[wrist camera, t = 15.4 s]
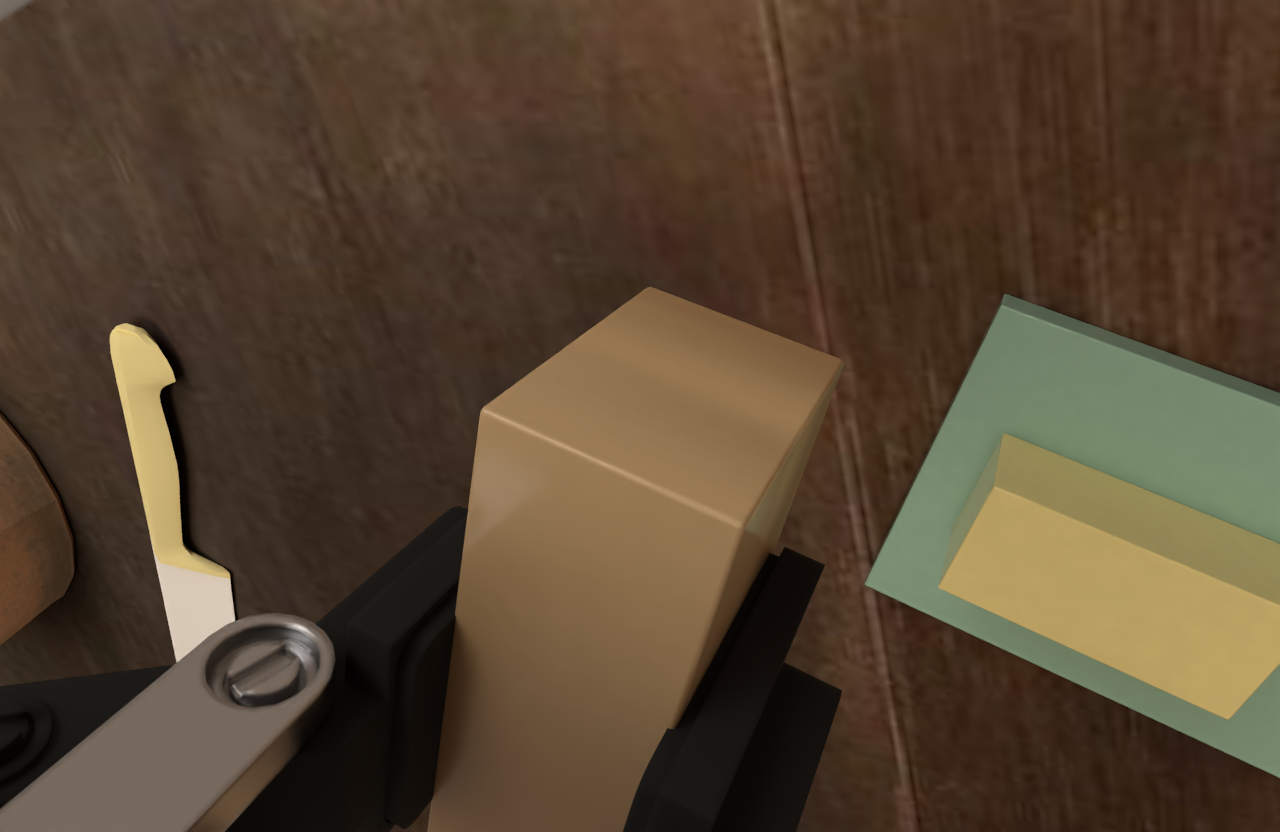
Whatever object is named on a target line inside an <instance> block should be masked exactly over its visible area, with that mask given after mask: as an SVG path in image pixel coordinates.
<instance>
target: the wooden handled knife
mask: <svg viewBox="0 0 1280 832" xmlns="http://www.w3.org/2000/svg"><path fill="white" fill-rule="evenodd" d="M843 366H844V363H843V361H842V360H841V359H839V358H836V357H834V356H831V355H829V354H826V353H823V352H821V351H818V350H815V349H813V348H810V347H808V346H805V345H802V344H800V343H797V342H794V341H792V340H789V339H787V338H784V337H781V336H779V335H776V334H773V333H771V332H768V331H766V330H763V329H760V328H758V327H755V326H752V325H750V324H747V323H745V322H742V321H739V320H737V319H734V318H731V317H729V316H726V315H723V314H721V313H718V312H716V311H713V310H710V309H708V308H705V307H702V306H700V305H697V304H695V303H692V302H689V301H687V300H684V299H681V298H679V297H676V296H674V295H671V294H668V293H666V292H663V291H660V290H658V289H655V288H653V287H647V288H646V289H644V290H643V291H642V292H640V293H639V294H638V295H636V296H635V297H633V298H632V299H631V300H629V301H628V302H627V303H625V304H624V305H623V306H621V307H620V308H618V309H617V310H616V311H614V312H613V313H612V314H610V315H609V316H607V317H606V318H605V319H603V320H602V321H601V322H599V323H598V324H597V325H595V326H594V327H592V328H591V329H590V330H588V331H587V332H586V333H584V334H583V335H581V336H580V337H579V338H577V339H576V340H575V341H573V342H572V343H571V344H569V345H568V346H566V347H565V348H564V349H562V350H561V351H560V352H558V353H557V354H555V355H554V356H553V357H551V358H550V359H549V360H547V361H546V362H545V363H543V364H542V365H540V366H539V367H538V368H536V369H535V370H534V371H532V372H531V373H529V374H528V375H527V376H525V377H524V378H523V379H521V380H520V381H518V382H517V383H516V384H514V385H513V386H512V387H510V388H509V389H508V390H506V391H505V392H503V393H502V394H501V395H499V396H498V397H497V398H495V399H494V400H492V401H491V402H490V403H488V404H487V405H486V406H484V407H483V409H482V410H481V413H480V419H479V427H478V435H477V443H476V451H475V459H474V467H473V475H472V483H471V491H470V499H469V507H468V515H467V523H466V531H465V539H464V546H463V554H462V562H461V570H460V578H459V586H458V594H457V602H456V610H455V616H456V621H455V629H454V637H453V645H452V653H451V660H450V668H449V676H448V684H447V692H446V699H445V707H444V715H443V723H442V731H441V738H440V746H439V754H438V762H437V770H436V777H435V785H434V793H433V798H432V801H431V808H430V816H429V824H428V832H623V829H624V826H625V823H626V820H627V817H628V814H629V811H630V808H631V805H632V802H633V799H634V796H635V793H636V790H637V788H638V786H639V783H640V781H641V779H642V776H643V774H644V772H645V770H646V768H647V766H648V764H649V761H650V759H651V758H652V756H653V754H654V752H655V750H656V748H657V746H658V744H659V743H660V741H661V739H662V737H663V735H664V733H665V732H666V730H667V728H669V729H675V728H676V727H677V726H678V724H679V722H680V720H681V718H682V716H683V714H684V713H685V711H686V709H687V707H688V705H689V703H690V701H691V699H692V698H693V696H694V694H695V692H696V690H697V688H698V686H699V684H700V683H701V681H702V679H703V677H704V675H705V673H706V671H707V669H708V668H709V666H710V664H711V662H712V660H713V658H714V656H715V655H716V653H717V651H718V649H719V647H720V645H721V643H722V641H723V640H724V638H725V636H726V634H727V632H728V630H729V628H730V626H731V625H732V623H733V621H734V619H735V617H736V615H737V613H738V611H739V610H740V608H741V606H742V604H743V602H744V600H745V598H746V596H747V595H748V593H749V591H750V589H751V587H752V585H753V583H754V582H755V580H756V578H757V576H758V574H759V572H760V570H761V568H762V567H763V565H764V563H765V561H766V559H767V557H768V556H769V554H770V553H772V554H773V552H774V550H775V547H776V544H777V542H778V539H779V536H780V534H781V531H782V528H783V526H784V523H785V520H786V518H787V515H788V512H789V510H790V507H791V504H792V502H793V499H794V496H795V494H796V491H797V488H798V486H799V483H800V480H801V478H802V475H803V472H804V470H805V467H806V464H807V462H808V459H809V456H810V454H811V451H812V448H813V446H814V443H815V441H816V438H817V435H818V433H819V430H820V427H821V425H822V422H823V419H824V417H825V414H826V411H827V409H828V406H829V403H830V401H831V398H832V395H833V393H834V390H835V387H836V385H837V382H838V379H839V377H840V374H841V371H842V369H843Z"/></svg>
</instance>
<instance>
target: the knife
mask: <svg viewBox="0 0 1280 832" xmlns="http://www.w3.org/2000/svg"><path fill="white" fill-rule="evenodd" d="M110 349H111V357H112V361H113V366H114V371H115V375H116V380H117V384H118V389H119V394H120V398H121V403H122V407H123V412H124V417H125V421H126V426H127V430H128V435H129V439H130V444H131V449H132V453H133V458H134V462H135V467H136V472H137V476H138V481H139V485H140V490H141V495H142V499H143V504H144V508H145V513H146V518H147V522H148V527H149V531H150V537H151V542H152V547H153V552H154V557H155V562H156V566H157V571H158V576H159V580H160V585H161V590H162V594H163V599H164V604H165V609H166V614H167V618H168V623H169V628H170V633H171V638H172V642H173V647H174V652H175V657H176V661H177V662H178V661H180V660H181V659H182V658H183V657H184V656H186V655H187V654H188V653H189V652H190V651H192V650H193V649H194V648H195V647H196V646H198V645H199V644H200V643H201V642H202V641H204V640H205V639H206V638H207V637H209V636H210V635H211V634H213V633H214V632H216V631H217V630H219V629H221V628H222V627H224V626H225V625H227V624H229V623H231V622H234V621H235V614H234V605H233V597H232V589H231V581H230V580H231V579H230V573H229V572H228V571H227V570H226V569H225V568H224V567H222V566H220V565H218V564H216V563H214V562H212V561H210V560H208V559H206V558H204V557H202V556H200V555H198V554H196V553H194V552H193V551H191V550H189V549H188V548H187V547H186V546H185V545H184V543H183V541H182V529H181V514H180V487H179V476H178V467H177V462H176V458H175V454H174V450H173V446H172V441H171V437H170V433H169V430H168V427H167V423H166V420H165V417H164V413H163V409H162V406H161V402H160V392H161V389H162V388H164V387H165V386H167V385H169V384H171V383H174V382H176V381H175V377H174V374H173V371H172V369H171V367H170V365H169V363H168V361H167V359H166V358H165V356H164V355H163V353H162V352H161V350H160V348H159V347H158V345H157V343H156V341H155V340H154V339H153V338H152V337H151V336H150V335H149V334H148V333H147V332H146V331H145V330H144V329H143V328H140V327H137V326H133V325H130V324H127V323H125V324H121V325H118V326H116V327H115V328H114V329H113V330H112V332H111V335H110Z"/></svg>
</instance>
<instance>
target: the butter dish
mask: <svg viewBox="0 0 1280 832" xmlns="http://www.w3.org/2000/svg"><path fill="white" fill-rule="evenodd" d="M865 585H866V586H868V587H870V588H872V589H875V590H877V591H879V592H881V593H883V594H885V595H887V596H890V597H892V598H894V599H896V600H898V601H900V602H902V603H905V604H907V605H909V606H911V607H913V608H915V609H918V610H920V611H922V612H924V613H926V614H928V615H930V616H933V617H935V618H937V619H939V620H941V621H943V622H945V623H948V624H950V625H952V626H954V627H956V628H958V629H961V630H963V631H965V632H967V633H969V634H971V635H973V636H976V637H978V638H980V639H982V640H984V641H986V642H989V643H991V644H993V645H995V646H997V647H999V648H1001V649H1004V650H1006V651H1008V652H1010V653H1012V654H1014V655H1016V656H1019V657H1021V658H1023V659H1025V660H1027V661H1029V662H1032V663H1034V664H1036V665H1038V666H1040V667H1042V668H1044V669H1047V670H1049V671H1051V672H1053V673H1055V674H1057V675H1059V676H1062V677H1064V678H1066V679H1068V680H1070V681H1072V682H1075V683H1077V684H1079V685H1081V686H1083V687H1085V688H1087V689H1090V690H1092V691H1094V692H1096V693H1098V694H1100V695H1102V696H1105V697H1107V698H1109V699H1111V700H1113V701H1115V702H1118V703H1120V704H1122V705H1124V706H1126V707H1128V708H1130V709H1133V710H1135V711H1137V712H1139V713H1141V714H1143V715H1145V716H1148V717H1150V718H1152V719H1154V720H1156V721H1158V722H1161V723H1163V724H1165V725H1167V726H1169V727H1171V728H1173V729H1176V730H1178V731H1180V732H1182V733H1184V734H1186V735H1188V736H1191V737H1193V738H1195V739H1197V740H1199V741H1201V742H1204V743H1206V744H1208V745H1210V746H1212V747H1214V748H1216V749H1219V750H1221V751H1223V752H1225V753H1227V754H1229V755H1231V756H1234V757H1236V758H1238V759H1240V760H1242V761H1244V762H1247V763H1249V764H1251V765H1253V766H1255V767H1257V768H1259V769H1262V770H1264V771H1266V772H1268V773H1270V774H1272V775H1274V776H1277V777H1279V778H1280V393H1278V392H1275V391H1273V390H1270V389H1267V388H1264V387H1262V386H1259V385H1256V384H1253V383H1250V382H1248V381H1245V380H1242V379H1239V378H1237V377H1234V376H1231V375H1228V374H1226V373H1223V372H1220V371H1217V370H1215V369H1212V368H1209V367H1206V366H1204V365H1201V364H1198V363H1195V362H1192V361H1190V360H1187V359H1184V358H1181V357H1179V356H1176V355H1173V354H1170V353H1168V352H1165V351H1162V350H1159V349H1157V348H1154V347H1151V346H1148V345H1146V344H1143V343H1140V342H1137V341H1134V340H1132V339H1129V338H1126V337H1123V336H1121V335H1118V334H1115V333H1112V332H1110V331H1107V330H1104V329H1101V328H1099V327H1096V326H1093V325H1090V324H1088V323H1085V322H1082V321H1079V320H1077V319H1074V318H1071V317H1068V316H1065V315H1063V314H1060V313H1057V312H1054V311H1052V310H1049V309H1046V308H1043V307H1041V306H1038V305H1035V304H1032V303H1030V302H1027V301H1024V300H1021V299H1019V298H1016V297H1013V296H1010V295H1007V294H1004V295H1003V297H1002V299H1001V301H1000V303H999V305H998V307H997V309H996V311H995V313H994V315H993V317H992V319H991V321H990V324H989V326H988V328H987V330H986V332H985V334H984V336H983V338H982V340H981V342H980V344H979V346H978V348H977V350H976V352H975V354H974V356H973V358H972V360H971V362H970V365H969V367H968V369H967V371H966V373H965V375H964V377H963V379H962V381H961V383H960V385H959V387H958V389H957V391H956V393H955V395H954V397H953V399H952V401H951V403H950V405H949V408H948V410H947V412H946V414H945V416H944V418H943V420H942V422H941V424H940V426H939V428H938V430H937V432H936V434H935V436H934V438H933V440H932V442H931V444H930V446H929V449H928V451H927V453H926V455H925V457H924V459H923V461H922V463H921V465H920V467H919V469H918V471H917V473H916V475H915V477H914V479H913V481H912V483H911V485H910V487H909V489H908V492H907V494H906V496H905V498H904V500H903V502H902V504H901V506H900V508H899V510H898V512H897V514H896V516H895V518H894V520H893V522H892V524H891V526H890V528H889V530H888V533H887V535H886V537H885V539H884V541H883V543H882V545H881V547H880V549H879V551H878V553H877V555H876V557H875V559H874V561H873V563H872V565H871V567H870V570H869V573H868V576H867V579H866V581H865Z"/></svg>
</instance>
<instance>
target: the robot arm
mask: <svg viewBox="0 0 1280 832" xmlns="http://www.w3.org/2000/svg"><path fill="white" fill-rule="evenodd" d="M467 515H468V510H467V509H465V508H463V507H461V506H458V507H453V508H451V509H450V510H448V511H447V512H445V513H444V514H443V515H442V516H440V517H439V518H438V519H437V520H436V521H435V522H434V523H432V524H431V525H430V526H429V527H428V528H427V529H425V530H424V531H423V532H422V533H421V534H420V535H418V536H417V537H416V538H415V539H414V540H413V541H411V542H410V543H409V544H408V545H407V546H406V547H404V548H403V549H402V550H401V551H400V552H399V553H398V554H396V555H395V556H394V557H393V558H392V559H391V560H389V561H388V562H387V563H386V564H385V565H384V566H382V567H381V568H380V569H379V570H378V571H377V572H375V573H374V574H373V575H372V576H371V577H370V578H368V579H367V580H366V581H365V582H364V583H363V584H362V585H360V586H359V587H358V588H357V589H356V590H355V591H353V592H352V593H351V594H350V595H349V596H348V597H346V598H345V599H344V600H343V601H342V602H341V603H339V604H338V605H337V606H336V607H335V608H334V609H332V610H331V611H330V612H329V613H328V614H327V615H326V616H324V617H323V618H322V619H321V620H320V621H319V622H317V623H316V624H314V623H312V622H311V621H309V620H306V619H303V618H300V617H297V616H294V615H289V614H277V613H268V614H260V615H253V616H248V617H245V618H242V619H240V620H237V621H234V622H231V623H229V624H227V625H225V626H224V627H222V628H221V629H219V630H217V631H216V632H214V633H213V634H211V635H210V636H209V637H207V638H206V639H205V640H204V641H202V642H201V643H200V644H199V645H198V646H196V647H195V648H194V649H193V650H192V651H190V652H189V653H188V654H187V655H186V656H184V657H183V658H182V659H181V660H180V661H178V662H177V663H176V664H175V665H168V666H160V667H152V668H144V669H136V670H128V671H120V672H112V673H104V674H96V675H88V676H80V677H72V678H64V679H56V680H48V681H40V682H32V683H24V684H16V685H8V686H1V687H0V832H389V831H390V830H391V829H392V828H393V826H394V825H395V824H396V825H398V826H400V827H401V828H403V829H406V828H408V827H409V826H410V825H411V824H412V823H413V822H414V821H415V820H416V819H417V818H418V816H419V815H420V814H421V812H422V811H423V810H424V809H425V807H426V806H427V805H428V803H429V802H430V801H431V800H432V798H433V793H434V785H435V777H436V770H437V762H438V754H439V746H440V738H441V731H442V723H443V715H444V707H445V699H446V692H447V684H448V676H449V668H450V660H451V653H452V645H453V637H454V629H455V621H456V616H455V610H456V602H457V594H458V586H459V578H460V570H461V562H462V554H463V546H464V539H465V531H466V523H467ZM824 566H825V565H824V564H822V563H820V562H817V561H815V560H813V559H811V558H809V557H806V556H804V555H802V554H800V553H797V552H795V551H793V550H791V549H788V548H786V547H785V548H784V549H783V551H782V553H781V555H780V557H778V556H776V555H774V554H772V553H770V554H769V556H768V557H767V559H766V561H765V563H764V565H763V567H762V568H761V570H760V572H759V574H758V576H757V578H756V580H755V582H754V583H753V585H752V587H751V589H750V591H749V593H748V595H747V596H746V598H745V600H744V602H743V604H742V606H741V608H740V610H739V611H738V613H737V615H736V617H735V619H734V621H733V623H732V625H731V626H730V628H729V630H728V632H727V634H726V636H725V638H724V640H723V641H722V643H721V645H720V647H719V649H718V651H717V653H716V655H715V656H714V658H713V660H712V662H711V664H710V666H709V668H708V669H707V671H706V673H705V675H704V677H703V679H702V681H701V683H700V684H699V686H698V688H697V690H696V692H695V694H694V696H693V698H692V699H691V701H690V703H689V705H688V707H687V709H686V711H685V713H684V714H683V716H682V718H681V720H680V722H679V724H678V726H677V727H676V728H675V729H669V728H667V730H666V732H665V733H664V735H663V737H662V739H661V741H660V743H659V744H658V746H657V748H656V750H655V752H654V754H653V756H652V758H651V759H650V761H649V764H648V766H647V768H646V770H645V772H644V774H643V776H642V779H641V781H640V783H639V786H638V788H637V790H636V793H635V796H634V799H633V802H632V805H631V808H630V811H629V814H628V817H627V820H626V823H625V826H624V829H623V832H796V830H797V827H798V824H799V821H800V818H801V815H802V812H803V809H804V806H805V803H806V800H807V797H808V794H809V791H810V788H811V785H812V782H813V779H814V776H815V773H816V770H817V767H818V764H819V761H820V758H821V755H822V752H823V749H824V746H825V743H826V740H827V737H828V734H829V731H830V728H831V725H832V722H833V719H834V715H835V712H836V709H837V706H838V703H839V700H840V697H841V692H842V690H840V689H838V688H836V687H834V686H832V685H830V684H828V683H825V682H823V681H821V680H819V679H817V678H815V677H813V676H811V675H809V674H807V673H805V672H803V671H801V670H799V669H797V668H794V667H792V666H790V665H788V664H786V663H784V661H785V658H786V656H787V654H788V651H789V649H790V647H791V644H792V642H793V639H794V637H795V635H796V632H797V630H798V628H799V625H800V623H801V621H802V618H803V616H804V613H805V611H806V609H807V606H808V604H809V602H810V599H811V597H812V595H813V592H814V590H815V587H816V585H817V583H818V580H819V578H820V576H821V573H822V571H823V568H824Z"/></svg>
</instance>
